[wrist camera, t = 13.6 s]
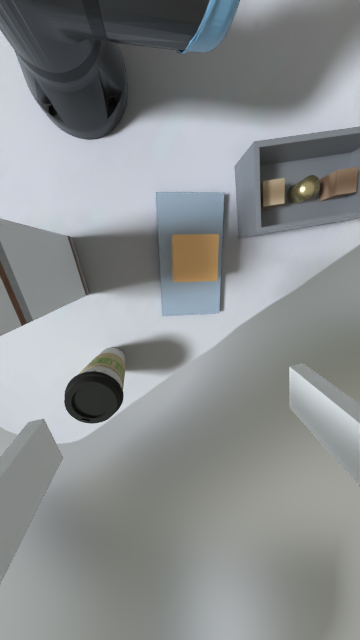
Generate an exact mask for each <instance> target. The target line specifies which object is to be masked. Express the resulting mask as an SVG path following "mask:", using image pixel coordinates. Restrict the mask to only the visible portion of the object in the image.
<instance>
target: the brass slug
mask: <svg viewBox="0 0 360 640" xmlns="http://www.w3.org/2000/svg"><path fill="white" fill-rule="evenodd" d="M319 189H320V180H319V178H318V177H317V176H315V175H310V176H308V177H306V178H304V179H303V180H301V181H299V182H297V183H296V184H294V185H292V186H291V187H290V189H289V191H288V200H289V202H290V203H292V204H298V203H300V202H302V201H305V200H307V199H310V198H312V197H314V196H315V195H316V194H317V193H318V191H319Z"/></svg>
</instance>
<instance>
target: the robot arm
mask: <svg viewBox="0 0 360 640" xmlns="http://www.w3.org/2000/svg"><path fill="white" fill-rule="evenodd" d="M239 2H240V0H0V30H1V32H2V33H3V34H4V36H5V37H6V39H7V40H8V41H9V43H10V44H11V46H12V47H13V49H14V50H15V53H16V56H17V58H18V61H19V64H20V66H21V69H22V72H23V74H24V77H25V80H26V82H27V85H28V87H29V89H30V91H31V93H32V95H33V96H34V98H35V100H36V101H37V103H38V104H39V106H40V107H41V108H42V110H43V111H44V112H45V113H46V115H47V116H48V117H49V118H50V120H51V121H52V122H53V123H54V124H55V125H56V126H58V127H59V128H60V129H62V130H63V131H65V132H66V133H68V134H70V135H72V136H75V137H78V138H82V139H95V138H99V137H102V136H104V135H106V134H108V133H109V132H111V131H112V130H113V129H114V128H115V127H116V125H117V124H118V123H119V121H120V119H121V118H122V115H123V113H124V110H125V107H126V102H127V78H126V72H125V67H124V62H123V58H122V55H121V52H120V49H119V46H118V43H123V44H131V45H140V46H148V47H156V48H164V49H173V50H177V52H178V53H179V54H185V53H187V52H210V51H212V50H213V49H214V48H215V47H216V46H218V45H219V44H220V43H221V41H222V40H223V38H224V37H225V35H226V33H227V31H228V29H229V27H230V25H231V23H232V20H233V18H234V15H235V13H236V10H237V8H238V5H239ZM289 368H290V369H289V380H290V381H289V388H290V389H289V396H290V398H289V402H290V403H289V407H290V408H291V410H292V411H293V412H294V413H295V414H296V415H297V416H298V417H299V419H300V420H301V421H302V422H303V423H304V424H305V425H306V426H307V428H308V429H309V430H310V431H311V432H312V433H313V434H314V436H315V437H316V438H317V439H318V440H319V441H320V442H321V443H322V445H323V446H324V447H325V448H326V449H327V450H328V451H329V452H330V454H331V455H332V456H333V457H334V458H335V459H336V460H337V461H338V463H339V464H340V465H341V466H342V467H343V468H344V469H345V470H346V472H347V473H348V474H349V475H350V476H351V477H352V478H353V480H354V481H355V482H356V483H357V484H358V485H359V486H360V404H359V403H357V402H356V401H355V400H353V399H352V398H350V397H349V396H348V395H346V394H345V393H343V392H342V391H341V390H339V389H338V388H336V387H335V386H333V385H332V384H331V383H329V382H328V381H327V380H325V379H324V378H322V377H321V376H320V375H318V374H317V373H315V372H314V371H312V370H311V369H310V368H308V367H307V366H306V365H304V364H299V365H294V366H290V367H289ZM62 459H63V456H62V454H61V452H60V450H59V448H58V446H57V444H56V442H55V440H54V438H53V436H52V434H51V432H50V430H49V428H48V426H47V424H46V422H45V420H44V419H41V420H36V421H32V422H28V424H27V425H26V426H25V427H24V428H23V430H22V431H21V432H20V433H19V435H18V436H17V437H16V438H15V440H14V441H13V442H12V443H11V444H10V446H9V447H8V448H7V449H6V450H5V452H4V453H3V454H2V455H1V456H0V584H1V581H2V580H3V578H4V576H5V574H6V572H7V570H8V567H9V566H10V563H11V561H12V560H13V558H14V556H15V553H16V552H17V550H18V548H19V546H20V544H21V541H22V539H23V537H24V536H25V534H26V531H27V529H28V527H29V525H30V523H31V521H32V519H33V517H34V515H35V513H36V511H37V509H38V507H39V505H40V503H41V501H42V499H43V497H44V495H45V493H46V491H47V489H48V487H49V485H50V483H51V481H52V479H53V477H54V475H55V473H56V471H57V469H58V467H59V465H60V463H61V461H62Z"/></svg>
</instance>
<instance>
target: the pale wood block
mask: <svg viewBox="0 0 360 640" xmlns="http://www.w3.org/2000/svg"><path fill="white" fill-rule="evenodd" d="M284 194H285V178H281V179H274V180H267V181H263V182H261V183H260V200H261V211H262V210H268V209H273V208H275V207H277V206H280V205H282V204H284Z"/></svg>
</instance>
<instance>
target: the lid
mask: <svg viewBox="0 0 360 640" xmlns="http://www.w3.org/2000/svg"><path fill="white" fill-rule="evenodd" d="M156 202H157V221H158V240H159V260H160V279H161V298H162V316H174V315H195V314H216V313H219V309H220V284H221V260H222V235H223V211H224V193H219V192H156Z"/></svg>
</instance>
